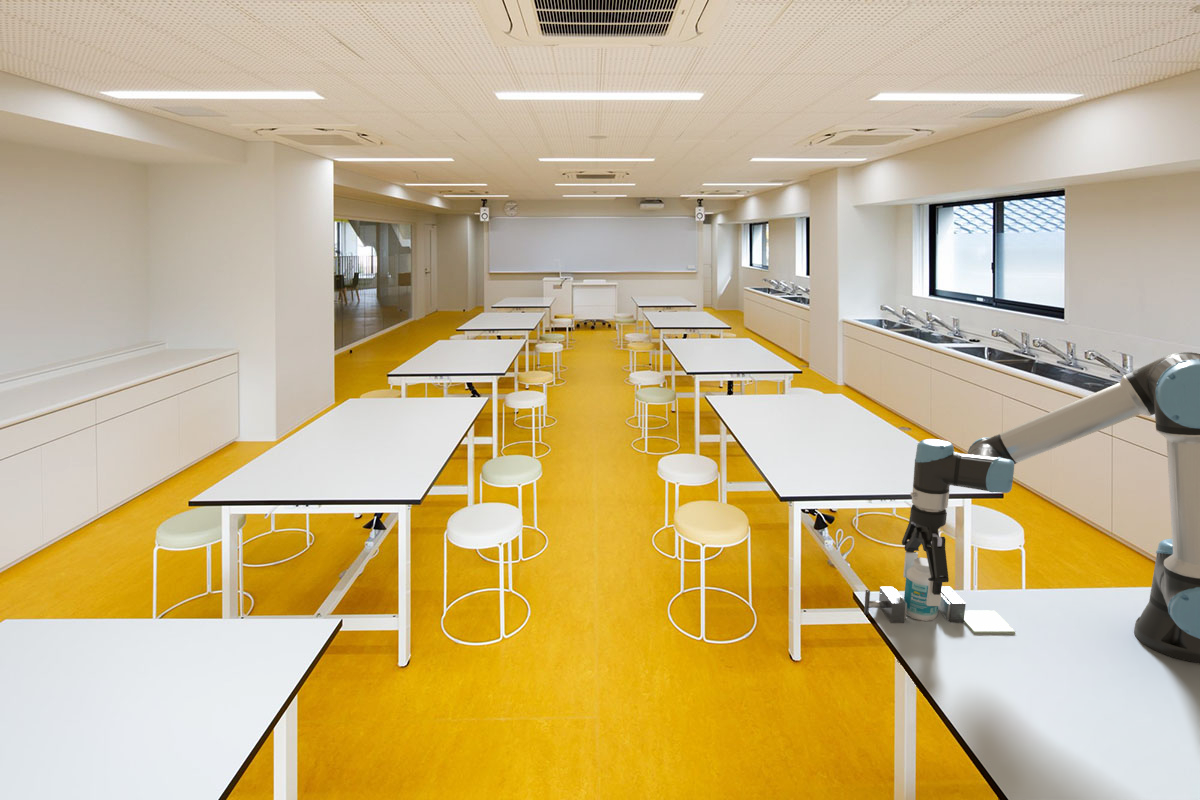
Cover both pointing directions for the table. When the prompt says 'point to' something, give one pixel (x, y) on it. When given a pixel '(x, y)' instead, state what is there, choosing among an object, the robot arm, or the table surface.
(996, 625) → the pad
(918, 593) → the pill bottle
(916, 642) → the table surface
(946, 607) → the vise
